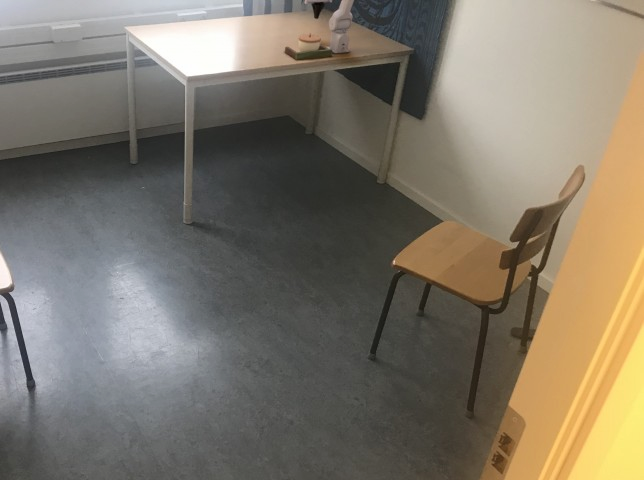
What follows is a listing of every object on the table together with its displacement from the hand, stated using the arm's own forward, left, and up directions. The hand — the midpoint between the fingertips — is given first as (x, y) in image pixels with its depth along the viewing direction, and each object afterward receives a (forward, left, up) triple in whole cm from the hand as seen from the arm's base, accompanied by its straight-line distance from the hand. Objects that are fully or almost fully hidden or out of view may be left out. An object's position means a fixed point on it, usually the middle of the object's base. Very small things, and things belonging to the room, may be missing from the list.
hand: (316, 18), depth 354 cm
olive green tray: (-22, +15, -10) cm, 29 cm away
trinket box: (-22, +15, -10) cm, 29 cm away
